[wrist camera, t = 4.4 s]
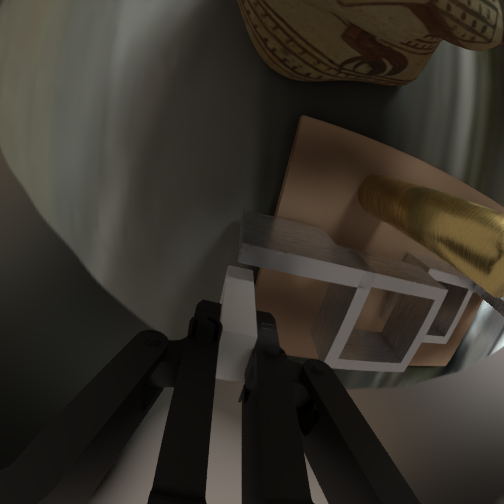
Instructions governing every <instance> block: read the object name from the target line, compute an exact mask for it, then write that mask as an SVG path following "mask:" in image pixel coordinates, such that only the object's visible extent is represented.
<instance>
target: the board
mask: <svg viewBox="0 0 504 504" xmlns="http://www.w3.org/2000/svg"><path fill="white" fill-rule="evenodd" d="M373 174H381V175H385V176H389V177H392V178H396V179H400V180H404V181H407V182H411V183H414V184H418V185H421V186H425V187H428V188H431V189H434V190H438V191H441V192H444V193H447V194H450V195H453V196H456V197H459V198H462V199H465V200H468V201H471V202H473V203H476V204H479V205H482V206H484V207H487V208H490V209H492V210H495V211H497V212H500V213H502V214H504V207H503V206H501V205H499V204H498V203H496V202H495V201H493V200H492V199H490V198H489V197H487V196H485V195H484V194H482V193H480V192H479V191H477V190H475V189H474V188H472V187H470V186H469V185H467V184H465V183H463V182H461V181H460V180H458V179H456V178H454V177H452V176H451V175H449V174H447V173H445V172H443V171H441V170H439V169H437V168H435V167H433V166H431V165H429V164H427V163H425V162H423V161H421V160H419V159H417V158H415V157H413V156H410V155H408V154H406V153H404V152H402V151H399V150H397V149H395V148H393V147H390V146H388V145H385V144H383V143H381V142H378V141H376V140H373V139H371V138H368V137H366V136H363V135H360V134H358V133H355V132H352V131H350V130H347V129H344V128H341V127H338V126H335V125H333V124H330V123H327V122H324V121H320V120H317V119H314V118H311V117H308V116H304V115H303V116H301V117H300V119H299V123H298V127H297V131H296V135H295V139H294V143H293V146H292V150H291V154H290V158H289V162H288V165H287V169H286V173H285V177H284V180H283V184H282V188H281V192H280V195H279V199H278V203H277V207H276V210H275V214H274V216H275V217H279V218H283V219H287V220H291V221H295V222H299V223H303V224H307V225H311V226H315V227H319V228H322V229H323V230H324V231H325V232H326V233H327V235H328V236H329V237H330V238H331V239H332V240H333V241H334V242H335V243H336V245H339V246H343V247H347V248H351V249H355V250H358V251H362V252H366V253H370V254H374V255H378V256H381V257H385V258H389V259H393V260H397V261H400V262H403V261H404V258H405V256H406V253H407V251H409V252H412V253H415V254H419V255H422V256H425V257H429V258H432V259H435V260H438V261H441V262H445V263H447V262H446V261H444V260H443V259H441V258H440V257H438V256H437V255H436V254H434V253H433V252H431V251H430V250H428V249H427V248H425V247H423V246H422V245H420V244H419V243H417V242H416V241H414V240H413V239H411V238H410V237H408V236H406V235H405V234H403V233H402V232H400V231H398V230H397V229H395V228H394V227H392V226H390V225H389V224H387V223H385V222H384V221H382V220H380V219H379V218H377V217H375V216H374V215H372V214H370V213H368V212H367V211H365V210H364V209H363V207H362V206H361V204H360V202H359V197H358V193H359V188H360V185H361V183H362V182H363V181H364V179H365V178H367V177H368V176H370V175H373ZM448 264H449V263H448ZM438 282H439V283H440V284H442V282H441V281H438ZM329 283H330V282H327V281H322V280H318V279H313V278H308V277H303V276H298V275H294V274H289V273H284V272H279V271H275V270H270V269H265V268H261V267H260V269H259V273H258V276H257V280H256V284H255V287H254V292H255V307H256V310H258V311H263V312H269V313H271V314H272V315H273V317H274V318H275V320H276V326H277V332H278V338H279V344H280V347H281V348H282V349H283V350H284V351H285V353H286V355H289V356H296V357H304V358H313V359H319V358H318V355H317V352H316V349H315V346H314V343H313V340H312V337H311V333H310V331H311V329H312V326H313V324H314V321H315V319H316V316H317V314H318V311H319V309H320V306H321V304H322V301H323V299H324V296H325V293H326V291H327V288H328V285H329ZM390 292H391V291H389V290H384V289H379V288H374V287H371V289H370V292H369V294H368V296H367V299H366V301H365V303H364V305H363V308H362V310H361V312H360V314H359V317H358V319H357V321H356V323H355V325H354V327H353V329H358V330H366V331H373V332H382V330H383V328H384V326H385V324H384V322H383V321H382V319H381V318H380V314H381V312H382V310H383V308H384V306H385V303H386V301H387V299H388V297H389V294H390ZM482 300H483V299H482V298H481V297H480V296H479V295H478V294H476V293H475V292H473V293H472V295H471V297H470V300H469V302H468V304H467V306H466V308H465V310H464V312H463V314H462V316H461V318H460V320H459V322H458V323H457V325H456V327H455V329H454V331H453V333H452V334H451V336H450V338H449V340H448V341H447V343H446V344H438V343H424V342H422V343H421V344H420V346H419V348H418V350H417V351H416V353H415V355H414V356H413V358H412V360H411V361H410V363H409V364H408V366H446V365H447V363H448V362H449V360H450V359H451V357H452V355H453V354H454V352H455V350H456V349H457V347H458V345H459V344H460V342H461V340H462V339H463V337H464V335H465V333H466V332H467V330H468V328H469V326H470V324H471V322H472V320H473V319H474V317H475V315H476V313H477V311H478V309H479V307H480V305H481V303H482Z"/></svg>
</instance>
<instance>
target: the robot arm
mask: <svg viewBox="0 0 504 504" xmlns="http://www.w3.org/2000/svg"><path fill="white" fill-rule="evenodd" d="M244 376H245V384H244V386H243V389H242V392H241V395H240V398H239V401H238V402H241V400H242V504H314V503H313V502H312V499H311V493H310V488H309V481H308V476H307V469H306V463H305V457H304V453H305V455H306V457H307V459H308V461H309V464H310V466H311V468H312V470H313V472H314V474H315V476H316V478H317V481H318V483H319V485H320V486H321V489H322V491H323V493H324V495H325V497H326V499H327V501H328V503H329V504H421V503H420V502H419V500H418V499H417V497H416V496H415V494H414V493H413V491H412V489H411V488H410V487H409V485H408V484H407V482H406V480H405V479H404V477H403V476H402V475H401V473H400V471H399V470H398V468H397V467H396V465H395V464H394V462H393V461H392V459H391V458H390V456H389V455H388V453H387V452H386V450H385V449H384V447H383V446H382V444H381V443H380V441H379V439H378V438H377V436H376V435H375V434H374V432H373V431H372V429H371V427H370V426H369V424H368V423H367V421H366V420H365V418H364V417H363V415H362V414H361V412H360V411H359V409H358V408H357V406H356V405H355V403H354V402H353V400H352V399H351V397H350V396H349V394H348V393H347V391H346V390H345V388H344V387H343V385H342V384H341V382H340V381H339V379H338V378H337V376H336V374H335V373H334V371H333V370H332V368H331V367H330V366H329V365H328V364H326V363H325V362H323V361H320V360H316V359H311V360H307V361H306V362H305V363H304V365H302V364H299V363H296V362H293V361H291V360H289V359H288V358H287V355H286V353H285V351H284V350H283V349H282V348H281V347H280V344H279V338H278V332H277V326H276V320H275V318H274V317H273V315H272V314H271V313H269V312H263V311H258V310H256V307H255V292H254V277H253V270H249V269H245V268H240V267H236V266H231V265H228V268H227V273H226V277H225V281H224V286H223V290H222V294H221V299H220V303H216V302H211V301H206V300H202V301H201V302H199V303H198V304H197V307H196V311H195V314H194V317H192V319H191V320H190V323H189V330H188V336H187V337H186V338H184V339H181V340H174V341H172V340H168V338H167V337H166V336H165V335H164V334H162V333H161V332H159V331H155V330H144V331H141V332H140V333H138V334H137V335H136V336H135V337H134V338H133V339H132V340H131V341H130V342H129V343H128V344H127V345H126V346H125V347H124V348H123V349H122V350H121V351H120V352H119V353H118V354H117V355H116V356H115V357H114V358H113V359H112V360H111V361H110V362H109V363H108V364H107V365H106V366H105V367H104V368H103V369H102V370H101V371H100V372H99V373H98V374H97V375H96V376H95V377H94V378H93V379H92V380H91V381H90V382H89V383H88V384H87V385H86V386H85V387H84V388H83V389H82V391H80V392H79V394H78V395H77V396H76V397H75V398H74V399H73V400H72V401H71V402H70V403H69V404H68V405H67V406H66V407H65V408H64V409H63V410H62V411H61V412H60V413H59V414H58V415H57V416H56V417H55V419H54V420H53V421H52V422H51V423H50V424H49V425H48V426H47V427H46V428H45V429H44V430H43V431H42V432H41V433H40V435H38V437H37V438H36V439H35V440H34V441H33V442H32V443H31V444H30V445H29V446H28V447H27V448H26V449H25V451H24V452H23V453H22V454H21V455H20V456H19V457H18V458H17V459H16V460H15V462H14V463H13V464H12V465H11V466H10V467H8V468H5V469H3V470H1V471H0V504H85V503H86V502H87V500H88V499H89V497H90V496H91V494H92V493H93V491H94V490H95V488H96V487H97V486H98V484H99V483H100V481H101V480H102V478H103V477H104V476H105V474H106V473H107V471H108V470H109V468H110V467H111V465H112V464H113V462H114V461H115V460H116V458H117V457H118V455H119V454H120V452H121V451H122V449H123V448H124V446H125V445H126V443H127V442H128V441H129V439H130V438H131V436H132V435H133V433H134V432H135V430H136V429H137V427H138V426H139V425H140V423H141V421H142V420H143V419H144V417H145V416H146V414H147V413H148V411H149V410H150V408H151V407H152V405H153V404H154V403H155V401H156V400H157V398H158V397H159V395H160V394H161V392H162V391H163V389H164V387H174V391H173V396H172V400H171V404H170V408H169V412H168V417H167V421H166V425H165V430H164V434H163V439H162V443H161V448H160V453H159V458H158V463H157V467H156V472H155V477H154V482H153V487H152V490H151V492H150V495H149V498H148V503H147V504H207V503H206V500H205V492H206V479H207V467H208V455H209V443H210V431H211V420H212V410H213V399H214V388H215V379H221V380H227V381H233V382H239V383H242V382H243V379H244Z"/></svg>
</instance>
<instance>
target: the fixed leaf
mask: <svg viewBox="0 0 504 504" xmlns="http://www.w3.org/2000/svg"><path fill="white" fill-rule="evenodd" d="M403 262H404V263H408V264H411V265H415V266H419V267H421V268H422V269H423V270H424V271H426V272H427V273H428V274H429V275H431V276H432V277H433V278H434V279H435V280H437V281H441V282H442V284H441V285H443V286H444V287H445V288H446V289H447V290H448V292H447V294H446V296H445V298H444V301H443V303H442V305H441V307H440V309H439V311H438V313H437V315H436V317H435V319H434V321H433V323H432V324H431V326H430V328H429V330H428V332H427V334H426V335H425V337H424V339H423V341H422V342H424V343H438V344H446V343H447V341H448V340H449V338H450V336H451V334H452V333H453V331H454V329H455V327H456V325H457V323H458V322H459V320H460V318H461V316H462V314H463V312H464V310H465V308H466V306H467V304H468V302H469V300H470V297H471V295H472V293H473V292H475V293H476V294H478V295H479V296H480V297H481V298H482V299H484V300H485V301H486V302H487V303H489V304H490V305H491V306H492V307H493V308H495V309H496V310H497V311H498V312H499V313H500V314H502V315H503V316H504V297H502V298H495V297H493V296H492V295H491V294H489V293H488V292H487V291H486V290H484V289H483V288H482V287H480V286H479V285H478V284H476V283H475V282H474V281H472V280H471V279H470V278H468V277H467V276H465V275H464V274H463V273H461V272H460V271H459V270H457V269H456V268H454V267H453V266H451V265H450V264H448V263H445V262H441V261H438V260H435V259H432V258H429V257H425V256H422V255H419V254H415V253H412V252H409V251H407V253H406V256H405V258H404V261H403ZM399 294H400V293H398V292H394V291H391V292H390V294H389V297H388V299H387V301H386V303H385V306H384V308H383V310H382V312H381V314H380V318H381V319H382V321H383V322H384V324H386V322H387V320H388V318H389V316H390V313H391V311H392V309H393V307H394V305H395V303H396V301H397V299H398V296H399Z"/></svg>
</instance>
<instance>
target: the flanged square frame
mask: <svg viewBox="0 0 504 504" xmlns="http://www.w3.org/2000/svg"><path fill="white" fill-rule="evenodd" d="M238 263H242V264H247V265H251V266H256V267H261V268H265V269H270V270H275V271H279V272H284V273H289V274H294V275H298V276H303V277H308V278H313V279H318V280H322V281H327V282H330V283H329V285H328V288H327V291H326V293H325V296H324V299H323V301H322V304H321V306H320V309H319V311H318V314H317V316H316V319H315V321H314V324H313V326H312V329H311V331H310V333H311V337H312V340H313V343H314V346H315V349H316V352H317V355H318V358H319V360H320V361H323V362H325V363H326V364H328V365H329V366H330V367H331V368H336V369H348V370H363V371H384V372H404V371H405V369H406V368H407V366H408V364H409V363H410V361H411V360H412V358H413V356H414V355H415V353H416V351H417V350H418V348H419V346H420V344H421V343H422V341H423V339H424V337H425V335H426V334H427V332H428V330H429V328H430V326H431V324H432V323H433V321H434V319H435V317H436V315H437V313H438V311H439V309H440V307H441V305H442V303H443V301H444V298H445V296H446V294H447V292H448V290H447V289H446V288H445V287H444V286H443V285H441V284H440V283H439V282H438V281H437V280H435V279H434V278H433V277H432V276H431V275H429V274H428V273H427V272H426V271H424V270H423V269H422V268H421V267H419V266H415V265H411V264H408V263H404V262H400V261H397V260H393V259H389V258H385V257H381V256H378V255H374V254H370V253H366V252H362V251H358V250H355V249H351V248H347V247H343V246H339V245H336V243H335V242H334V241H333V240H332V239H331V238H330V237H329V236H328V235H327V233H326V232H325V231H324V230H323V229H322V228H319V227H315V226H311V225H307V224H303V223H299V222H295V221H291V220H287V219H283V218H279V217H275V216H271V215H267V214H262V213H258V212H254V211H250V210H245V209H243V212H242V216H241V220H240V232H239V249H238ZM371 287H374V288H379V289H384V290H389V291H394V292H398V293H400V294H399V296H398V299H397V301H396V303H395V305H394V307H393V309H392V311H391V313H390V316H389V318H388V320H387V322H386V324H385V326H384V328H383V330H382V332H373V331H366V330H358V329H353V327H354V325H355V323H356V321H357V319H358V317H359V314H360V312H361V310H362V308H363V305H364V303H365V301H366V299H367V296H368V294H369V292H370V289H371Z"/></svg>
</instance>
